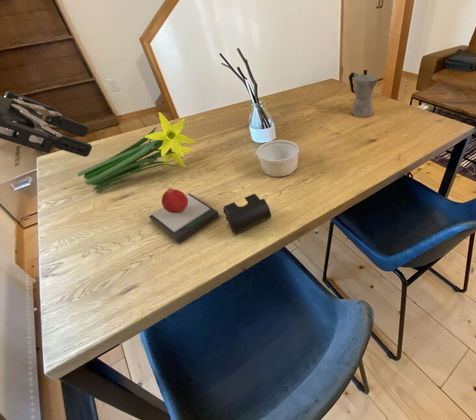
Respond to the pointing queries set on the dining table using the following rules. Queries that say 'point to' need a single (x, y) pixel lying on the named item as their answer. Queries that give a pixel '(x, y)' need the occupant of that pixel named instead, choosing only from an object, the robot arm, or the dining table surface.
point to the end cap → (247, 213)
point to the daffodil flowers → (140, 155)
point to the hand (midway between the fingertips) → (88, 141)
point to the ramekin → (278, 157)
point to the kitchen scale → (185, 219)
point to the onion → (174, 201)
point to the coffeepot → (362, 93)
